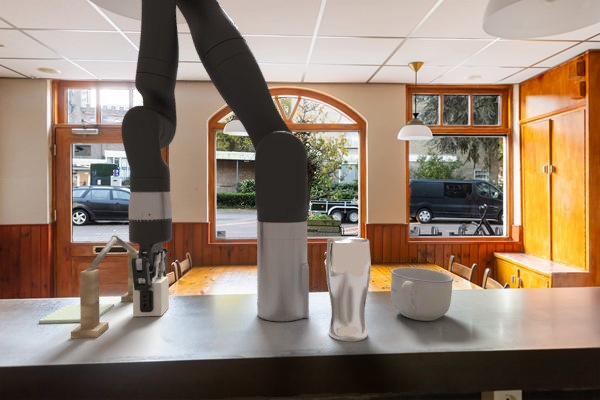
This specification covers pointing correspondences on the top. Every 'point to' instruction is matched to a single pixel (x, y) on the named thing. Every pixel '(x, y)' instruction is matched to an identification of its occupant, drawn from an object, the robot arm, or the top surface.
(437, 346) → the top surface
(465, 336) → the top surface
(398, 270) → the teacup
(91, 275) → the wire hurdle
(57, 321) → the mat
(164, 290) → the cream block
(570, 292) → the top surface
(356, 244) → the beer glass
